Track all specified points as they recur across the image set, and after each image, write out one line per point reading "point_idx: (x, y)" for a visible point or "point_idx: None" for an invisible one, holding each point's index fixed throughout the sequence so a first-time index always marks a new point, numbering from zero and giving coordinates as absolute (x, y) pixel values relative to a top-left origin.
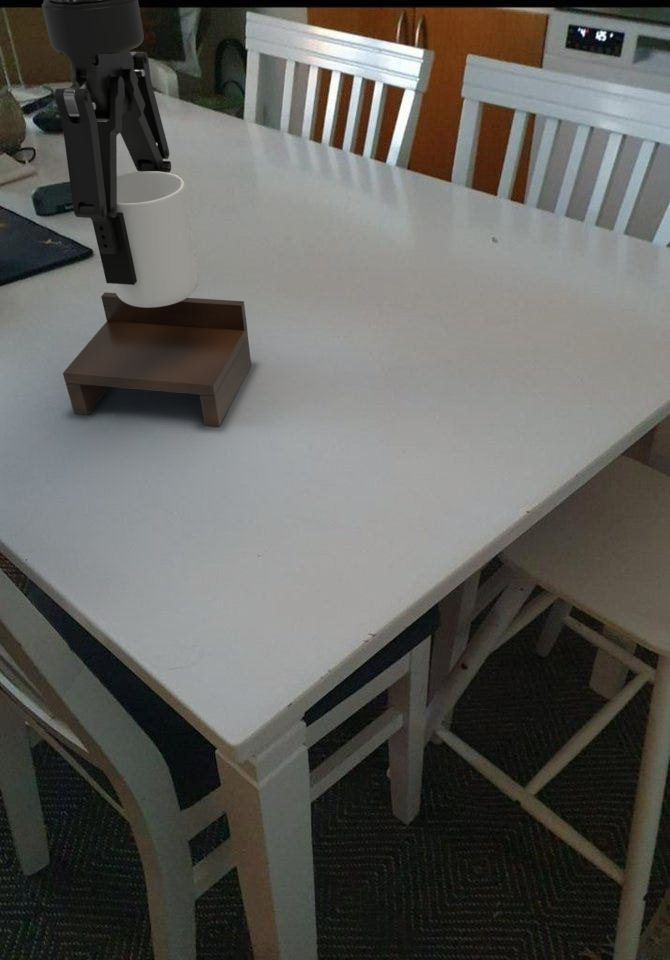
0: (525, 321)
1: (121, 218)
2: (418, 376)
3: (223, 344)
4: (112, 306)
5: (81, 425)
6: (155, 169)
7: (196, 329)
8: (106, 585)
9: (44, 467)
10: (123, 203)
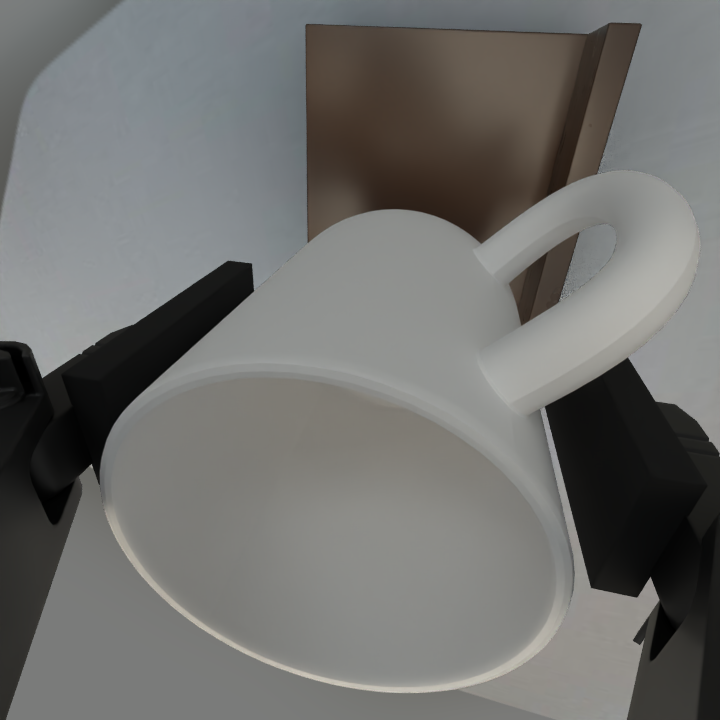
0: (597, 645)
1: None
2: None
3: None
4: (589, 66)
5: (301, 75)
6: (660, 604)
7: None
8: (33, 251)
9: (176, 56)
10: (115, 527)
